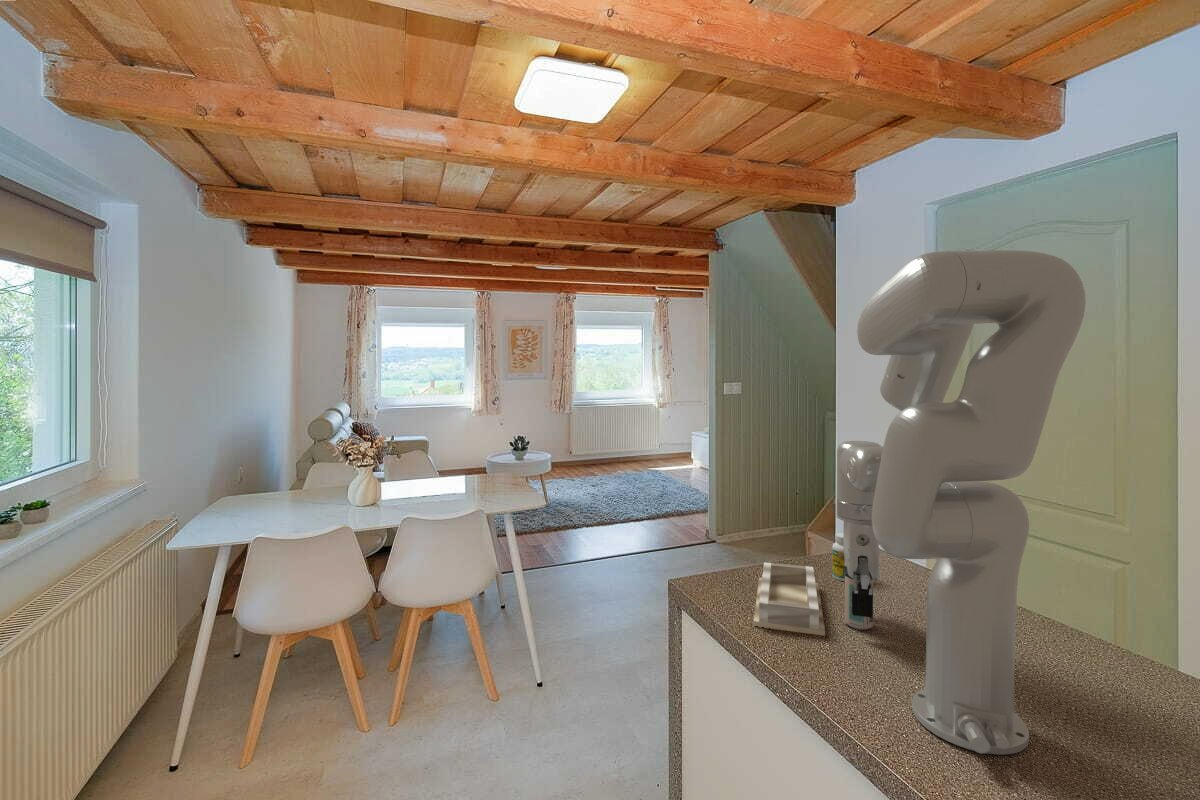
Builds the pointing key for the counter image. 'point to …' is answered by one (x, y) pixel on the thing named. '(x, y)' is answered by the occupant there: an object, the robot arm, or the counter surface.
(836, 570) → the supplement bottle
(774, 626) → the open rectangular box
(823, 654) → the counter surface
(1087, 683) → the counter surface
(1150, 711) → the counter surface
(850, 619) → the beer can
